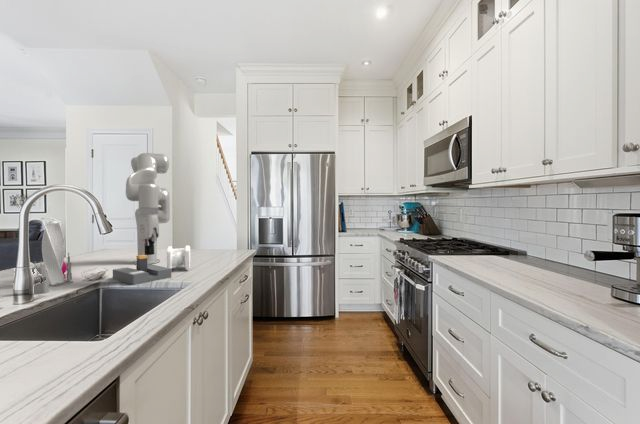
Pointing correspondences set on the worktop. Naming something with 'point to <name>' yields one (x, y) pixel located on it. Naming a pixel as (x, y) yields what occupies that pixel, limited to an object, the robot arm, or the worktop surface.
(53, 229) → the skyscraper
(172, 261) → the cable organizer
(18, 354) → the worktop surface
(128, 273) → the breaker panel
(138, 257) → the block
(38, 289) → the power adapter
